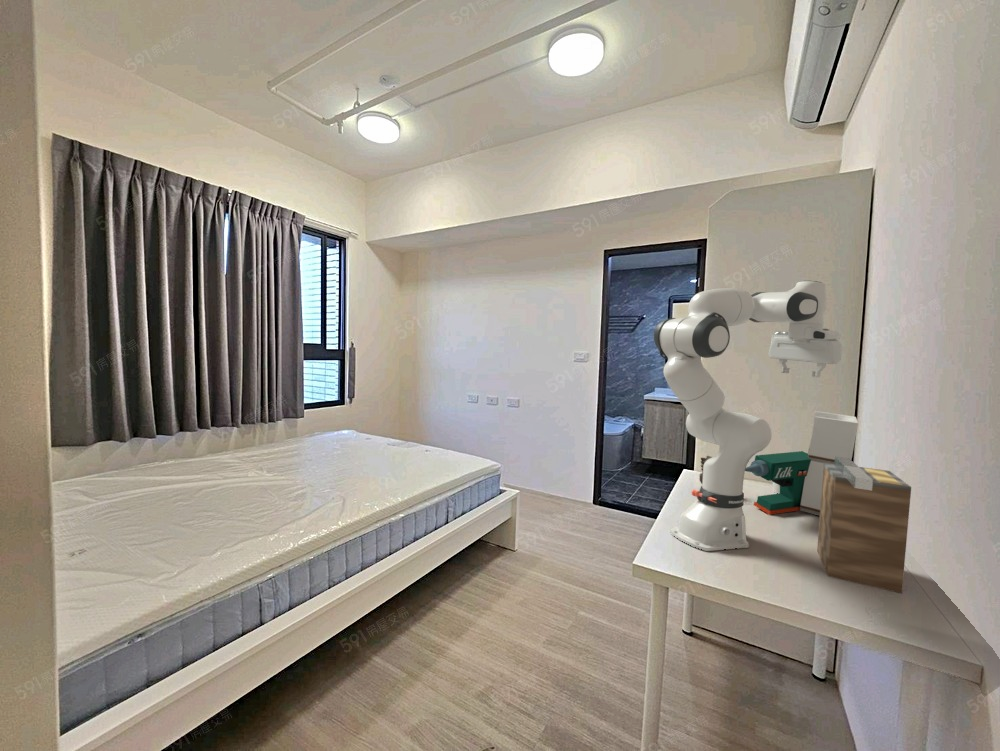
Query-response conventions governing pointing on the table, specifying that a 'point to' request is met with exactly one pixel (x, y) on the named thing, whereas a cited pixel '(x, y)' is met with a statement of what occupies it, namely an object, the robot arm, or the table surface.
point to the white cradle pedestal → (826, 453)
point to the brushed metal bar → (853, 473)
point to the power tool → (781, 480)
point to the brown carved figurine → (702, 466)
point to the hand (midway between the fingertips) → (800, 375)
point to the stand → (864, 528)
